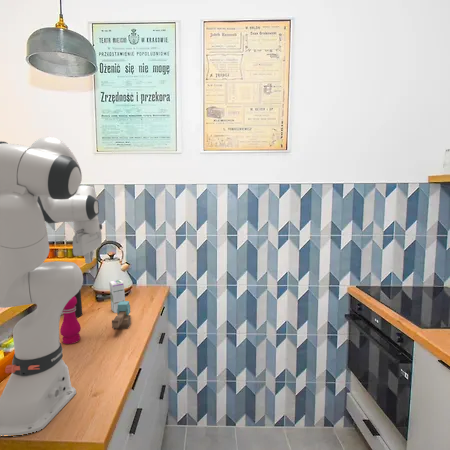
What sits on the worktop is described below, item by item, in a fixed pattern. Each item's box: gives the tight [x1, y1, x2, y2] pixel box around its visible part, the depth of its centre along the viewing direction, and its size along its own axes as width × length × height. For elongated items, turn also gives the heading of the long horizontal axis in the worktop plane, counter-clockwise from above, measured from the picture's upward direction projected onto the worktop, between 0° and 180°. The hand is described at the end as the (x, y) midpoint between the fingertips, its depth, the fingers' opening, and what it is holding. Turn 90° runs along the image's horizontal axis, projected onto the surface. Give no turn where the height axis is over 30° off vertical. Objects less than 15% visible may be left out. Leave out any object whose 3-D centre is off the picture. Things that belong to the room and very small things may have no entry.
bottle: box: [75, 288, 83, 319], centre depth 148 cm, size 7×7×20 cm
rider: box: [116, 300, 131, 316], centre depth 139 cm, size 4×5×5 cm
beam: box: [111, 311, 132, 330], centre depth 136 cm, size 20×6×8 cm, turn 3°
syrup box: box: [108, 279, 126, 314], centre depth 154 cm, size 6×6×14 cm
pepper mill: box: [59, 296, 82, 345], centre depth 124 cm, size 7×7×20 cm
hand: (89, 262), depth 124 cm, fingers closed
